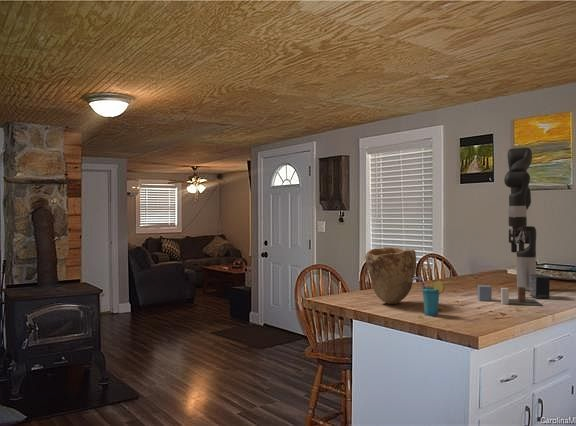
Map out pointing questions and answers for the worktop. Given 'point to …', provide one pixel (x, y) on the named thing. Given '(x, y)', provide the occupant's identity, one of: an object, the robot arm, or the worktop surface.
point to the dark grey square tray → (523, 299)
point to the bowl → (391, 272)
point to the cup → (431, 297)
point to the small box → (539, 286)
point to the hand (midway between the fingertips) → (517, 251)
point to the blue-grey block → (484, 293)
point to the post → (504, 296)
